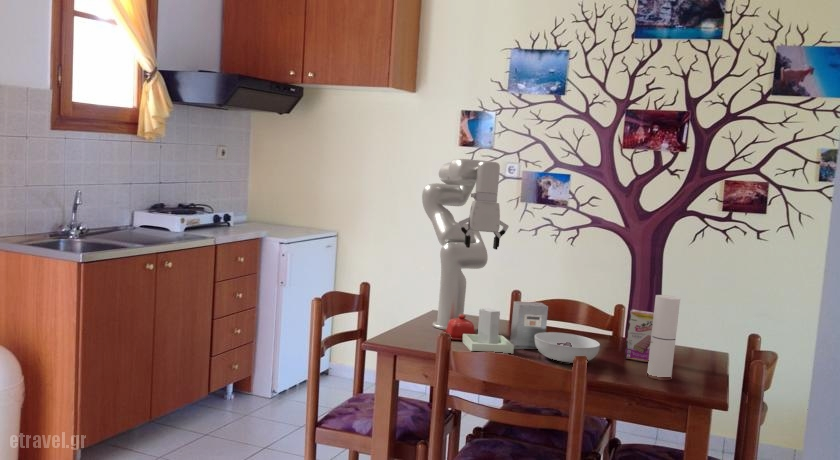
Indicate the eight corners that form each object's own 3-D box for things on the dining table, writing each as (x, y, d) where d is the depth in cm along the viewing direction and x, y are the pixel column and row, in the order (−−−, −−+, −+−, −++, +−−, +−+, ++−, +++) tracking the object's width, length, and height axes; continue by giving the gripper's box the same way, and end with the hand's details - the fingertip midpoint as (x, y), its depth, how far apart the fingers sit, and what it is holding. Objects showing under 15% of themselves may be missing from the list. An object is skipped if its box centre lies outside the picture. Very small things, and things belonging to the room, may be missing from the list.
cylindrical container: (657, 381, 229) (666, 299, 227) (641, 374, 236) (650, 294, 234) (676, 380, 232) (685, 299, 230) (660, 373, 239) (668, 295, 237)
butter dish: (479, 343, 261) (482, 318, 261) (446, 341, 260) (449, 317, 259) (472, 335, 273) (474, 312, 272) (440, 334, 271) (443, 310, 270)
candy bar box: (624, 359, 254) (629, 311, 252) (625, 356, 258) (630, 308, 257) (659, 365, 250) (664, 316, 249) (659, 361, 255) (665, 313, 254)
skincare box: (498, 347, 254) (501, 311, 253) (488, 348, 251) (492, 312, 250) (485, 342, 259) (488, 307, 258) (475, 343, 256) (479, 308, 255)
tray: (462, 341, 260) (462, 333, 260) (501, 343, 263) (502, 335, 262) (471, 351, 247) (472, 343, 246) (513, 353, 249) (513, 345, 249)
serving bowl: (594, 372, 234) (597, 350, 233) (527, 362, 240) (529, 340, 239) (600, 358, 253) (603, 337, 253) (538, 348, 260) (540, 328, 259)
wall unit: (506, 342, 264) (510, 300, 263) (539, 344, 266) (543, 302, 265) (513, 349, 256) (517, 305, 254) (547, 350, 258) (552, 307, 256)
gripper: (463, 196, 253) (458, 247, 254) (513, 200, 256) (508, 251, 257) (458, 195, 260) (454, 245, 262) (507, 199, 263) (503, 248, 264)
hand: (481, 248), depth 259 cm, fingers open, 9 cm apart
